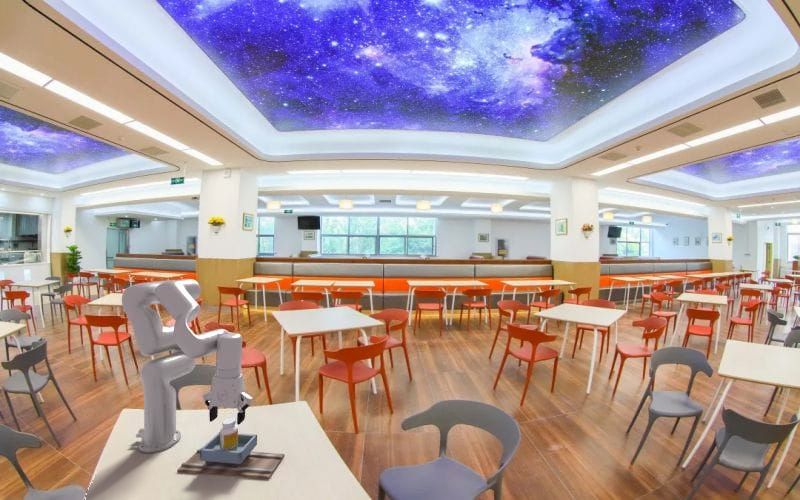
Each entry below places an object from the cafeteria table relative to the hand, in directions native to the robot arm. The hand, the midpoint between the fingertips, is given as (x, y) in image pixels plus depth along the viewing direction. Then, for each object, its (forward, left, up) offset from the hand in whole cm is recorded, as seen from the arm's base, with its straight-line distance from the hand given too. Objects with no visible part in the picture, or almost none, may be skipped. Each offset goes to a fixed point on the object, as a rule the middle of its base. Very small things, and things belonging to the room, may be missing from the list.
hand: (227, 420), depth 109 cm
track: (+2, 0, -14) cm, 15 cm away
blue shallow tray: (+1, 0, -13) cm, 13 cm away
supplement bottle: (+1, 0, -10) cm, 10 cm away
